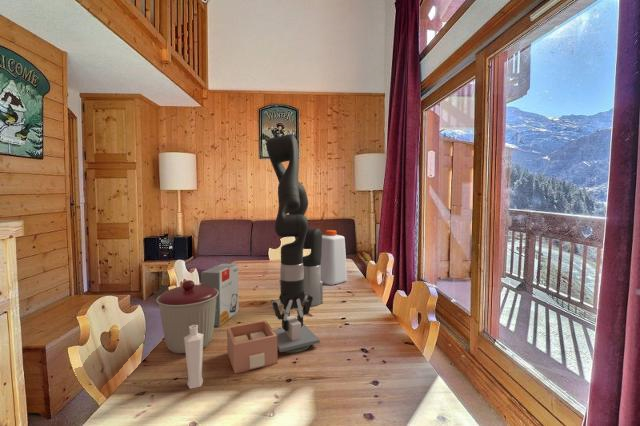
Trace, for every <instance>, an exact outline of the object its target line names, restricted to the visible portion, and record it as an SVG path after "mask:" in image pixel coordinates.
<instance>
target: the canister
mask: <svg viewBox="0 0 640 426" xmlns="http://www.w3.org/2000/svg"><path fill="white" fill-rule="evenodd" d="M218 294H219V291H218V290H217V289H215V288H213V287H211V286H207V285H201V284H195V281H193V280H190V279H188V280H185V281H183V282H182V285H180V286H176V287H173V288H171V289H168V290H166V291H164V292H163V293H161V294H160V295H158V296H157V298H156V300H155V301H156V303H157V304H158V306H159V313H160V318H161V324H162V326H161V327H162V331H163V335H164V341H165V344H166V347H167V349H168V350H170V352H173V353H175V354H186V351H185V342H184V337H186V336H188V335H189V334H190V328H189V327H190V326H192V325H198V333H200V334H204V336H203V349H205V348H206V347H207V346H208V345H210V343H211V341H212V339H213V336H214V330H215V329H214V328H215V326H214V321H215V310H216V298H217V296H218Z"/></svg>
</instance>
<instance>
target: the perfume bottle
mask: <svg viewBox="0 0 640 426" xmlns="http://www.w3.org/2000/svg"><path fill="white" fill-rule="evenodd" d="M189 328H190V334H189V335H188V336H186V337H184V342H185V351H186V353H185V358H186V368H187V377H188V379H187V386H188V388H189V389H190V390H192V389H195V388H200V387H201V386H202V385H203V382H204V378H203V375H202V374H203V355H204V348H203V336H204V334H200V333H198V325H192V326H190V327H189Z"/></svg>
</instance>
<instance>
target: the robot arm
mask: <svg viewBox="0 0 640 426" xmlns="http://www.w3.org/2000/svg"><path fill="white" fill-rule="evenodd" d="M265 146H266V151H267V155H268V158H269V161H270V163H271V165H272V168H273V170H274V172H275V175H276V177H277V180H278V187H277V197H278V200H277V201H278V207H277V208H278V209H277V215H276V218H275V222H274V231H275V234H276V235H277V236H278V237H280V238H292V237H293V238H294V241H292V242H289V243H286V244H285V243H284V244H283V245H282V246H281V247H280V269H279V278H280V279H279V280H280V283H279V285H280V286H279V287H280V288H279V289H280V294H279V297H278V298H277V299H275V300H274V299H271V301H270V303H271V306H272V310H273V312H274V316H275V317H276V318H277V320H279V321H281V328H283V330H285V332H286V331H288V320H287V317H288V316H289V314H290V312H291V310H292V309H295V310H296V313H297V316H296V319H297V320H298V321H299V322H300V323H301V328H302V326H303V324H304V317H305V315H309V313H310V311H311V307H315V306H318V305H321V304H323V302H324V301H323V300H324V299H323V295H324V293H323V291H324V290H323V288H324V286H323V284H324V283H323V282H322V281H321V254H322V235H323V233H322V231H321V229H320V228H316V227H309V221H308V220H309V219H308V218H307V216H305V214H306V212H307V211H308V210H307V209H308V207H309V199H308V195H307V192H306V188H305V187H304V185H303V184H302V183H301V182H300V181H299V171H300V169H299V168H300V149H299V145H298V141H297V139H296V136H295V135H293V134H284V135H280V136H276V137H272V138H268V139H267V140H266V143H265ZM285 162H288V165H287V167H285V166H284V165H283V163H285ZM304 250H310V254H308V255H304ZM280 303H281V304H282V308H281V310H282V311H281V312H280ZM302 306H303V307H302Z"/></svg>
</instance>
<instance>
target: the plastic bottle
mask: <svg viewBox="0 0 640 426" xmlns="http://www.w3.org/2000/svg"><path fill="white" fill-rule="evenodd" d="M345 239H346V238H345V236H343V235H340V234H337V230H334V229H329V230H328V229H326V230H325V234H322V254H321V281H322V282H323V284H325V285H328V286H335V284H336V285H338V284H342V283H345V282H347V280H348V268H347V256H346V255H347V254H346V253H347V252H346V240H345Z"/></svg>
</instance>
